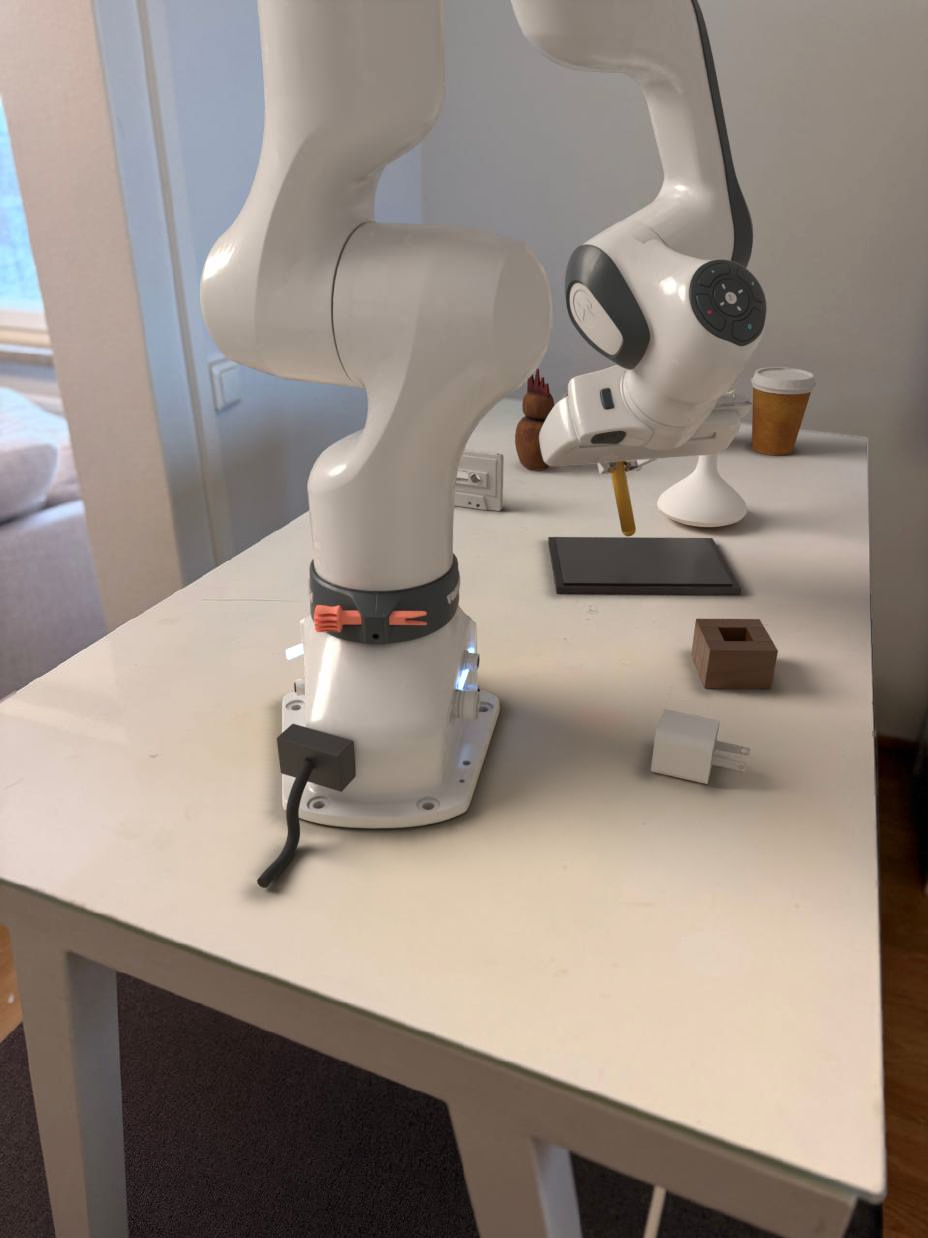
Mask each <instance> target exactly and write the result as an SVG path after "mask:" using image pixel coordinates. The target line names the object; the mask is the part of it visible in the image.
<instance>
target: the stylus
mask: <svg viewBox="0 0 928 1238" xmlns="http://www.w3.org/2000/svg"><path fill="white" fill-rule="evenodd" d="M616 465H617V468H616V469H615V470H614V472H613V473H610V475H611V481H612V482H611V483H612V486H613V492H614V497H615V503H616V508H617V514H618V518H619V519H618V520H619V523H620V524H619V525H620V529H621V533H622V534H623V536H625V537H633V536H634V535H635V533H636V529H637V528H636V522H635V516H634V511H633V506H632V500H631V495H630V489H629V484H628V479H627V478H628V477H627V472H626V471H625V465H624V461H620V462H616Z"/></svg>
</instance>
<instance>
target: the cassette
mask: <svg viewBox="0 0 928 1238" xmlns="http://www.w3.org/2000/svg"><path fill="white" fill-rule="evenodd" d="M504 459H505V458H504V455H503V453H499V452H492V451H483V450H475V449H468V448H467V449H466V448H465V449H464V452H463V454H462V457H461V460H460V464H459V467H458V472H461V473H462V472H463V473H467V478H464V477H457V479H456V487H455V501H454V507H461V508H469V509H475V510H482V511H493V512H500V511H501V510H502V509H503V507H504V506H503V504H504ZM477 476H478V477H479V478H478V477H477Z"/></svg>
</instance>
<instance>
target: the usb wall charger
mask: <svg viewBox="0 0 928 1238" xmlns="http://www.w3.org/2000/svg"><path fill="white" fill-rule="evenodd" d="M720 723H721V721H720V720H719V719H714V718H708V717H704V716H699V715H693V714H689V713H684V712H679V711H675V710H670V709H664V708H663V711H662V713H661V716H660V719H659V722H658V725H657V727H656V731H655V735H654V741H653V750H652V759H651V766H650V772H652V773H657V774H659V775H660V774H661V775H665V776H669V777H674V778H679V779H683V780H688V781H692V782H696V783H701V784H704V785H708V783H709V780H710V776H711V772H712V767H713V766H718V767H723V768H727V769H731V770H737V771H742V772H746V771H747V767H748V763H747V762H743V761H740V760H737V759H732V758H728V757H723V756H718V755H715V754H716V750H717V751H720V752H726V753H731V754H733V755H735V754H736V755H740V756H741V755H742V756H750V754H751V753H750V752H751V748H750V747H746V746H743V745H741V744H735V743H730V742H725V741H720V740H718V734H719V728H720ZM743 750H746V752H743ZM739 765H743V767H740V766H739Z"/></svg>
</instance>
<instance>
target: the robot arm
mask: <svg viewBox="0 0 928 1238" xmlns="http://www.w3.org/2000/svg"><path fill="white" fill-rule="evenodd" d="M256 3H257V13H258V24H259V35H260V45H261V46H260V47H261V48H260V49H261V60H262V61H261V62H262V75H263V76H262V77H263V94H264V95H263V96H264V122H263V123H264V126H263V127H264V128H263V135H262V144H261V150H260V155H259V161H258V165H257V169H256V172H255V176H254V179H253V183H252V185H251V188H250V191H249V194H248V196H247V199H246V200H245V203H244V205H243V207H242V209H241V210H240V212H239V214H238V216H237V217H236V219H234V221H233V222H232V224H231V225H230V226H229V227H228V228H227V229H226V230H225V231H224V232H223V233H222V235H220V236H219V237H218V239H216V241H215V242H214V243H213V245H212V247H211V249H210V250H209V252H208V254H207V257H206V258H205V261H204V265H203V267H202V270H201V275H200V282H199V303H200V310H201V315H202V319H203V322H204V325H205V327H206V331H207V332H208V334H209V336H210V338H211V340H212V342H213V343H214V345H215V346H216V348H217V349H218V351H219V352H220V353H221V354H222V355H223V357H226V358H227V359H228V360H230V361H232V362H234V363H236V364H239V365H242V366H244V367H247V368H250V369H252V370H255V371H258V372H261V373H264V374H266V375H269V376H273V377H274V378H275V377H276V378H279V379H282V380H286V381H293V382H303V383H313V384H322V385H332V386H340V387H349V388H350V387H351V388H360V389H362V390H365V392H366V396H367V415H366V421H365V425H364V428H361V429H359V430H357V431H355V432H352V433H349V434H347V435H346V436H344V437H342V438H341V439H338V440H337V441H335V442H334V443H331V445H329V446H328V447H326V448H325V449H324V450H323V451H322V452H321V453H320V455H318V457H317V459H316V460H315V462H314V464H313V466H312V468H311V470H310V473H309V476H308V478H307V484H306V487H307V498H308V510H309V522H310V523H309V524H310V532H311V533H310V534H311V545H312V546H311V547H312V556H313V558H312V559H311V561H310V564H309V577H308V583H307V584H308V597H309V613H308V614H307V615H305V616H304V617H303V619H301V620H300V621H299V627H300V628H299V629H300V637H301V643H299V644H297V645H295V646H292V647H289V648H287V649H285V655H286V659H287V660H292V659H294V658H297V657H299V656H300V655H302V656H303V664H304V678H296V679H295V682H294V683H293V690H292V691H290V692H289V693H287V694H285V695H284V696H283V698H282V700H281V733H280V735H278V736H277V737H276V744H277V745H276V746H277V754H278V761H279V770H280V774H281V806H282V809H283V811H285V819H286V826H287V836H286V839H285V843H284V846H283V848H282V850H281V851H280V853H279V855H278V857H277V858H276V859H275V860H274V861H273V862H271V864H270V865H269V866H268V867H267V868H266V869H265V870H264V871H263V872H262V873H261V874H260V876H259V877H258V878H257V880H256V883H257V885H259V887H260V888H263V889H267V888H269V886H270V885H271V884H272V882H273V881H274V880H275V879H276V878H277V877H278V876H279V875H280V874H281V873H282V872H283V871H284V870H285V869H286V868H287V866H288V865H289V864H290V863H291V861H292V859H293V858H294V856H295V854H296V851H297V849H298V846H299V843H300V838H301V823H300V819H301V820H304V821H307V822H310V823H315V824H319V825H325V826H331V827H341V828H349V829H351V828H353V829H354V828H355V829H401V828H413V827H420V826H427V825H432V824H437V823H441V822H444V821H447V820H451V819H453V818H456V817H458V816H460V815H463V814H464V813H466V812H467V811H468V809H469V807H470V804H471V802H472V799H473V795H474V794H475V790H476V787H477V783H478V780H479V777H480V774H481V772H482V771H481V770H482V768H483V765H484V763H485V758H486V756H487V752H488V749H489V746H490V743H491V740H492V736H493V734H494V730H495V727H496V724H497V721H498V719H499V715H500V712H501V707H500V700H499V698H498V696H497V695H495V694H493V693H492V692H490V691H488V690H485V689H482V688H480V685H479V684H478V683H479V681H478V679H479V678H478V670H479V667H480V659H481V658H480V653H478V634H477V633H478V632H477V629H478V628H477V622H476V621H475V620H473V619H472V617H470V616H469V615H468V614H467V613H466V612H465V611H464V610H463V609H462V608H461V607H460V605H459V604H460V588H461V575H460V570H459V561H458V557H457V555H456V554H455V553H454V517H455V506H454V501H455V487H456V479H457V478H458V473H459V471H458V467H459V464H460V460H461V457H462V454H463V452H464V449H466V447H467V444H468V443H469V440H470V439H471V436H472V434H473V433H474V431H475V430H476V428H477V427H478V426H479V424H480V422H481V421H482V420H483V419H484V418H485V416H486V415H487V414H488V413H489V412H490V411H491V410H492V409H493V408H494V407H495V406H496V405H497V404H498V403H500V402H501V401H503V399H505V398H506V397H508V396H509V395H510V394H512V393H513V392H515V391H517V390H518V389H519V388H520V387H521V386H523V384H525V383H526V382H528V379H529V377H530V376H531V375H532V374H533V375H534V373H535V372H536V370H537V369H538V367H540V365H541V363H542V361H543V359H544V357H545V355H546V354H547V350H548V348H549V345H550V343H551V339H552V336H553V331H554V325H555V300H554V294H553V293H554V292H553V288H552V286H551V285H552V284H551V282H550V279H549V276H548V274H547V271H546V269H545V266H544V265H543V263H542V262H541V260H540V259H539V256H538V255H537V254H536V252H535V251H534V250H533V249H532V248H531V246H530V245H529V244H528V243H526V242H524V241H521V240H517V239H514V238H511V237H507V236H505V235H501V234H497V233H495V232H494V233H493V232H490V231H486V230H482V229H477V228H473V227H469V226H465V225H463V224H462V225H460V224H459V225H458V224H435V223H433V224H431V223H406V222H405V223H402V222H379V221H376V219H375V201H376V195H377V194H376V193H377V189H378V185H379V182H380V179H381V177H382V174H383V172H384V171H385V169H386V167H387V166H388V165H389V164H391V163H393V162H394V161H396V160H398V159H399V158H401V157H402V156H405V155H406V154H408V152H410V151H411V150H413V149H414V148H416V147H418V145H420V144H421V143H422V142H423V141H424V140H425V139H426V138H427V137H428V136H429V135H430V133H431V132H432V130H433V129H434V128H435V126H436V124H437V122H438V120H439V118H440V116H441V114H442V111H443V108H444V105H445V101H446V97H447V94H446V91H447V90H446V52H445V51H446V47H445V43H446V42H445V10H444V9H445V7H444V6H445V5H444V0H256ZM510 3H511V7H512V10H513V14H514V16H515V19H516V21H517V24H518V26H519V29H520V30H521V33H522V35H523V37H524V38H525V40H527V42H528V43H529V44H530V45H531V46H532V48H534V49H535V50H536V51H537V52H538V54H540V55H542V56H543V57H544V58H546V59H547V60H549V61H550V62H552V63H554V64H556V65H558V66H561V67H563V68H566V69H570V70H574V71H580V72H587V73H588V72H589V73H603V74H604V73H605V74H622V75H626V76H628V77H630V78H631V79H632V80H633V81H634V82H635V83H636V84H637V86H639V88H640V89H641V91H642V94H643V96H644V98H645V101H646V105H647V108H648V113H649V118H650V121H651V126H652V130H653V134H654V138H655V141H656V146H657V150H658V153H659V159H660V162H661V166H662V171H663V182H662V185H661V188H660V190H659V192H658V194H657V195H656V197H655V198H654V200H653V201H652V202H650V203H649V204H648V205H646V206H644V207H643V208H641V209H639V210H638V211H636V212H634V213H633V214H631V215H629V216H628V217H626V218H624V219H623V220H620V221H618V222H615V223H614V224H612V225H611V226H609V227H608V228H605V229H604V230H602V231H601V232H599V233H598V234H595V235H594V236H593V237H591V238H590V239H588V240H587V241H585V242H584V243H583V244H580V245H578V246H577V247H576V248H575V249H574V250H573V251H572V253H571V254H570V256H569V259H568V262H567V265H566V269H565V276H564V297H565V305H566V309H567V315H568V317H569V320H570V322H571V323H572V325H573V326H574V328H575V329H576V331H577V332H578V334H579V335H580V336H581V337H582V338H583V339H584V341H585V342H586V343H587V344H588V346H590V347H591V348H593V350H595V351H596V352H598V353H599V354H600V355H602V356H603V357H605V358H607V359H608V360H609V361H611V362H612V363H614V364H615V365H613V366H610V367H606V368H603V369H600V370H596V371H591V372H586V373H583V374H579V375H576V376H574V377H572V378H571V379H570V380H569V382H568V384H567V393H568V396H567V397H564V398H563V397H562V398H563V399H562V398H561V399H560V400H558V402H556V405H555V404H554V405H555V406H554V407H553V409H552V410H551V412H550V413H549V415H548V416H547V418H546V420H545V422H544V424H543V426H542V428H541V430H540V433H539V442H540V449H541V453H542V457H543V460H544V462H545V463H546V464H547V465H549V466H550V467H552V468H553V467H564V466H565V467H566V466H577V465H578V466H579V465H591V464H596V465H597V469H598V473H599V474H600V475H605V474H607V475H609V474H611V473H613V472H614V470H615V469H616V468H617V465H616V462H620V461H624V466H625V472H626V473H629V472H631V473H632V472H640V470H641V469H642V468H643V467H644V466H646V465H648V464H650V463H652V462H655V461H658V460H660V459H672V458H673V459H674V458H685V457H699V456H701V455H714V454H717V453H718V454H720V453H721V452H723V451H725V450H727V448H728V447H729V446H730V445H731V444H732V442H733V441H734V439H735V437H736V436H737V435H738V432H739V430H740V428H741V425H742V424H741V419H744V418H745V417H746V416H747V415H748V413H750V411H751V410H753V399H751V398H750V397H746V395H745V394H743V393H731V394H729V393H726V392H729V390H730V389H731V388H732V386H733V385H734V384H735V383H736V381H737V380H738V379H739V378H740V375H741V374H742V373H743V371H744V370H745V369H746V367H747V366H748V364H749V362H750V361H751V359H752V357H754V355H755V353H756V350H757V349H758V347H759V345H760V343H761V341H762V338H763V336H764V333H765V329H766V325H767V318H768V303H767V297H766V294H765V290H764V288H763V286H762V285H761V283H760V282H759V280H758V278H757V277H756V275H754V274H753V273H752V271H750V270H749V269H748V265H749V263H750V260H751V256H752V251H753V245H754V225H753V219H752V215H751V212H750V209H749V207H748V204H747V200H746V198H745V196H744V194H743V192H742V188H741V186H740V183H739V180H738V177H737V172H736V169H735V165H734V160H733V155H732V150H731V143H730V139H729V135H728V129H727V124H726V118H725V113H724V108H723V102H722V97H721V90H720V86H719V81H718V75H717V70H716V64H715V60H714V55H713V51H712V46H711V42H710V36H709V33H708V28H707V25H706V21H705V16H704V14H703V11H702V8H701V5H700V2H699V1H698V0H510Z"/></svg>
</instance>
